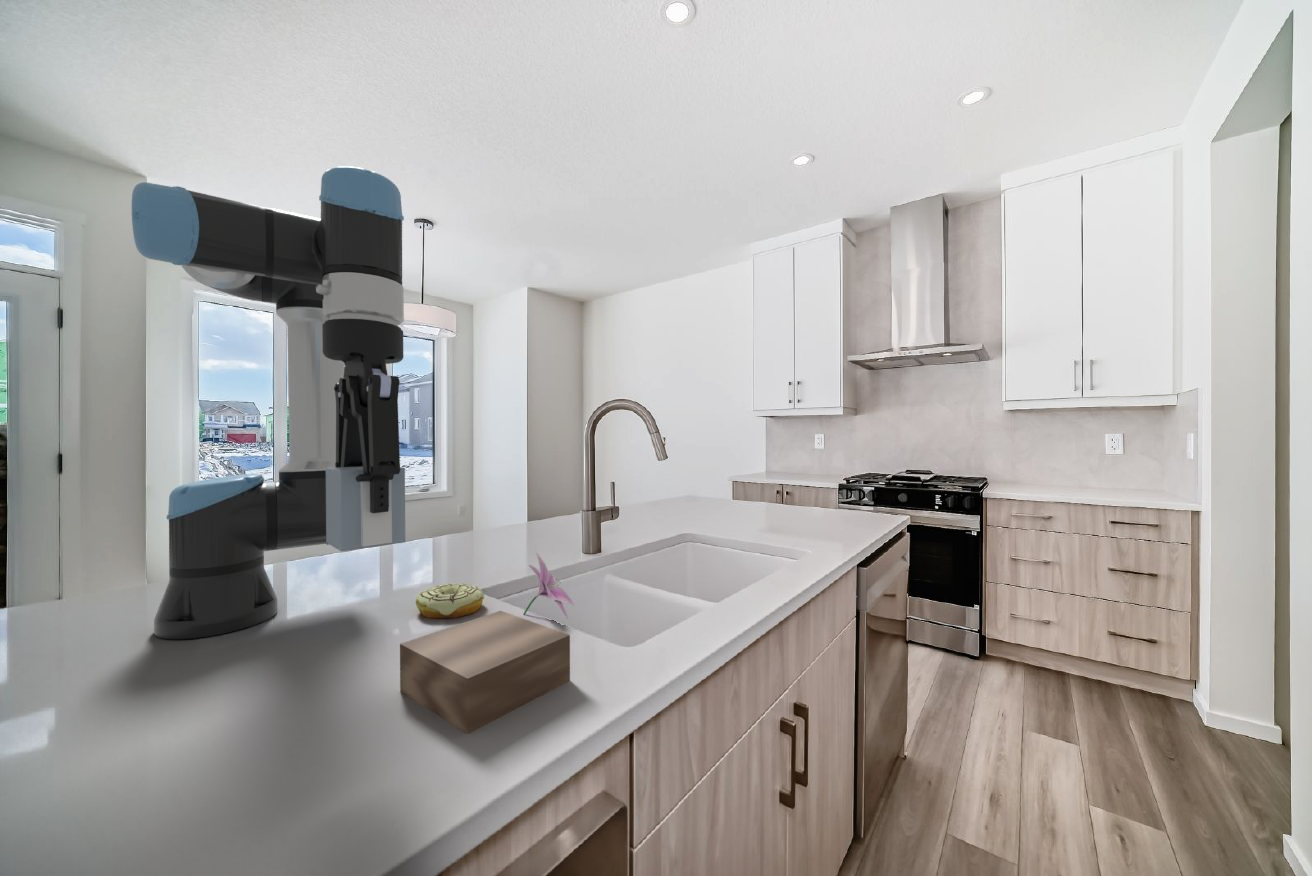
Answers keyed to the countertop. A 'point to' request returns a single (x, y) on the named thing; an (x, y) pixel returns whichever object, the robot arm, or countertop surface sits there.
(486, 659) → the walnut block
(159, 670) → the countertop surface
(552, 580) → the lily
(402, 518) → the slate block
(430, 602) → the decorated donut
